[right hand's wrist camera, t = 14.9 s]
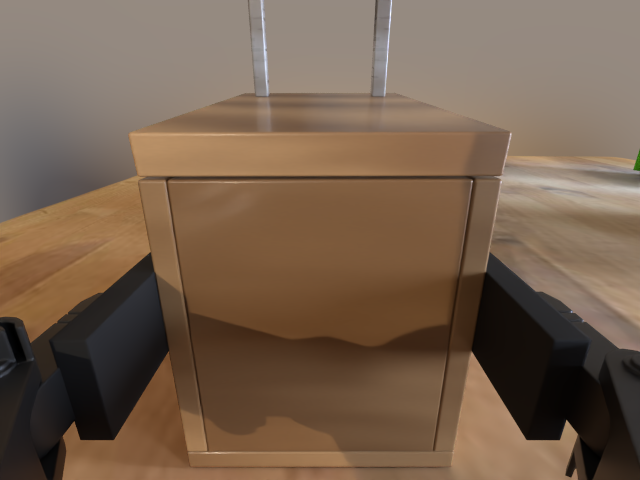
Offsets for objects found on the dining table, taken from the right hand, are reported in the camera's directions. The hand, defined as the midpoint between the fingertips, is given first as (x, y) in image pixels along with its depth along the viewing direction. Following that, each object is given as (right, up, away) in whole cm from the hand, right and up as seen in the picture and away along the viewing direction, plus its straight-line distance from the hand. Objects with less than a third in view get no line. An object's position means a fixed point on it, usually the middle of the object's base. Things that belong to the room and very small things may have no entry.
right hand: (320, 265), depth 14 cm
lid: (0, +6, +2) cm, 6 cm away
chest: (0, -5, +6) cm, 7 cm away
